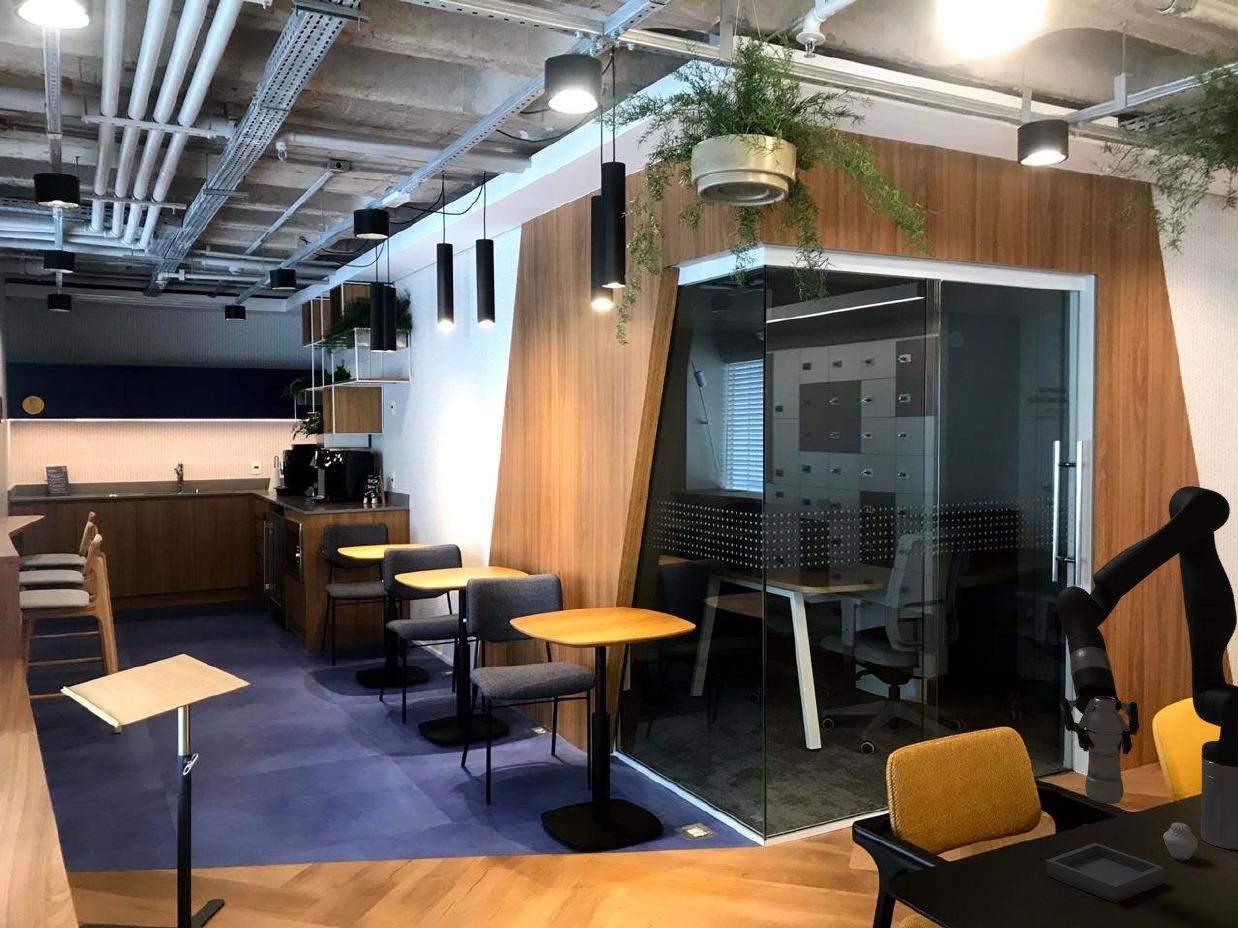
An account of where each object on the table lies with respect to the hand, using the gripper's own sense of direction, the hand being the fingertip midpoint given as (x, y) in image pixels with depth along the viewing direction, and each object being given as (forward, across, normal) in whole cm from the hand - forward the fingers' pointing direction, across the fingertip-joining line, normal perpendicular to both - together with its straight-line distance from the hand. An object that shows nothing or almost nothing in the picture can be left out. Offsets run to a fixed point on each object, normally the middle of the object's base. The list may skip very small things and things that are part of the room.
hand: (1106, 750), depth 187 cm
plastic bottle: (+6, 0, +9) cm, 11 cm away
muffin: (+7, +18, +29) cm, 35 cm away
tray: (+17, 0, +19) cm, 25 cm away
